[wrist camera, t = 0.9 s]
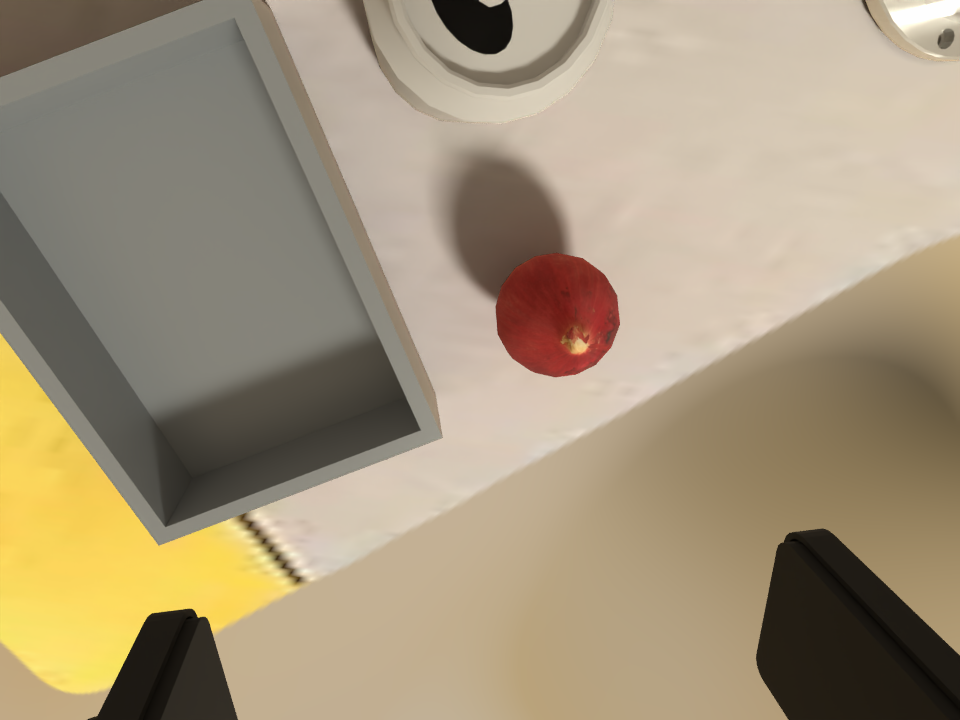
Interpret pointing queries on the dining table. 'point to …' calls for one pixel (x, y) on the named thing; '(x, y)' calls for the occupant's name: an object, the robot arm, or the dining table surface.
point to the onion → (557, 315)
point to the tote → (198, 271)
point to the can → (486, 53)
